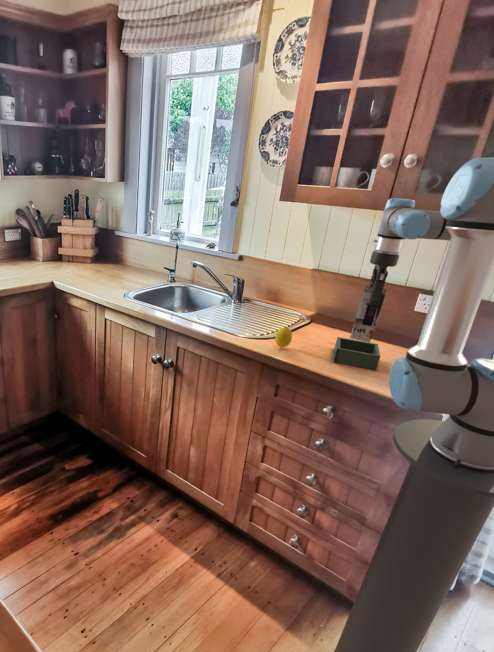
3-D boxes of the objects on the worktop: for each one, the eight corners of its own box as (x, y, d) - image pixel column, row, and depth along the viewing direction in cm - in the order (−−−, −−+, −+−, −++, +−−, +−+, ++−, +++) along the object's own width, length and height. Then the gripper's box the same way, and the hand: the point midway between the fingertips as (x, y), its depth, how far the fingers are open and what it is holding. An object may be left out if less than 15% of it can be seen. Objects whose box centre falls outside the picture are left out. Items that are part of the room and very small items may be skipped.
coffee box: (370, 343, 151) (385, 295, 143) (349, 338, 154) (362, 291, 146) (373, 334, 158) (387, 288, 150) (352, 330, 161) (365, 284, 153)
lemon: (273, 349, 164) (277, 328, 161) (273, 343, 169) (278, 323, 166) (289, 352, 163) (294, 330, 159) (289, 346, 168) (294, 325, 164)
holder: (375, 370, 153) (380, 356, 150) (333, 362, 157) (337, 348, 155) (373, 357, 162) (377, 343, 160) (333, 349, 167) (337, 336, 165)
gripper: (371, 244, 154) (352, 309, 164) (375, 256, 135) (354, 328, 145) (396, 247, 151) (376, 313, 161) (404, 259, 133) (381, 332, 143)
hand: (365, 320), depth 153 cm, fingers closed on coffee box, 9 cm apart
